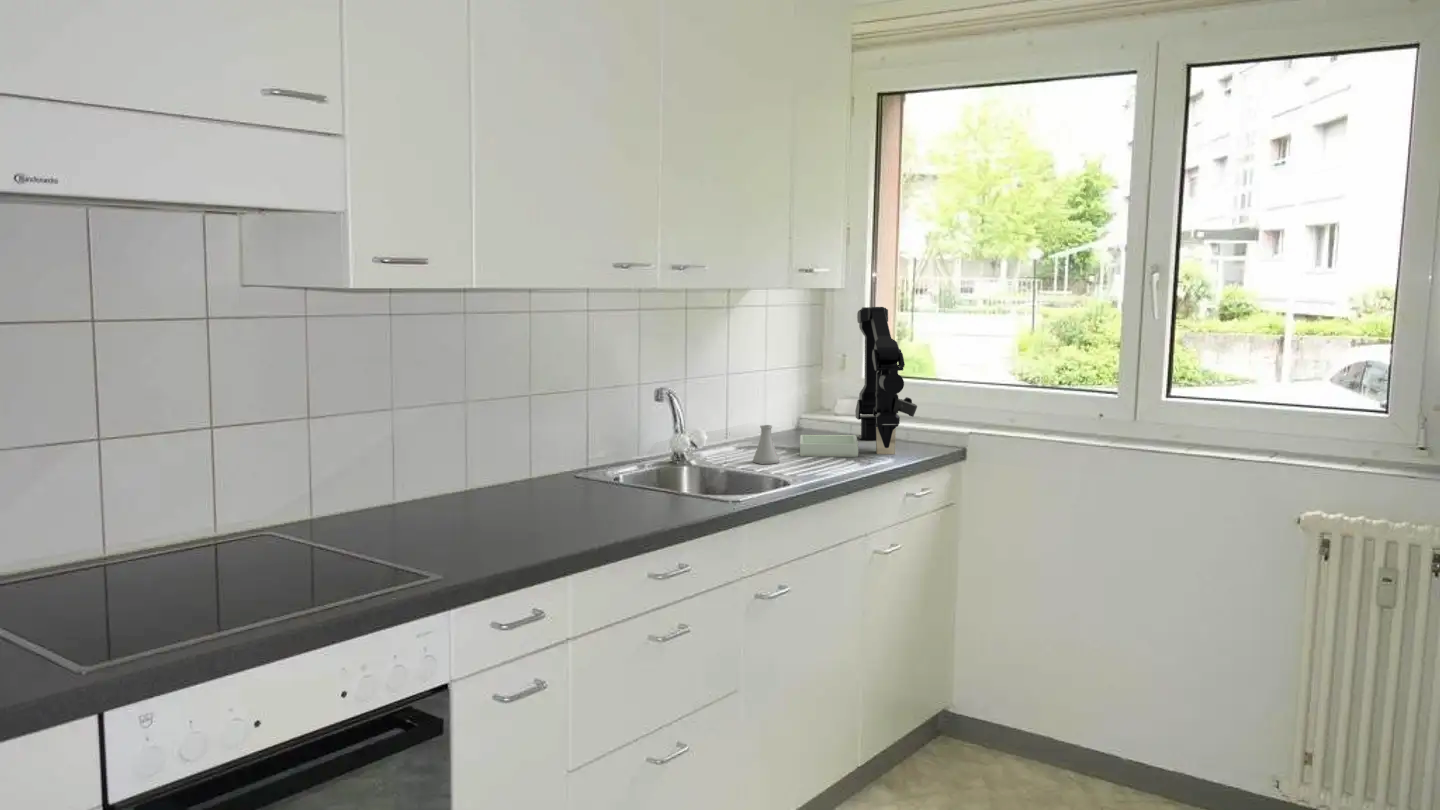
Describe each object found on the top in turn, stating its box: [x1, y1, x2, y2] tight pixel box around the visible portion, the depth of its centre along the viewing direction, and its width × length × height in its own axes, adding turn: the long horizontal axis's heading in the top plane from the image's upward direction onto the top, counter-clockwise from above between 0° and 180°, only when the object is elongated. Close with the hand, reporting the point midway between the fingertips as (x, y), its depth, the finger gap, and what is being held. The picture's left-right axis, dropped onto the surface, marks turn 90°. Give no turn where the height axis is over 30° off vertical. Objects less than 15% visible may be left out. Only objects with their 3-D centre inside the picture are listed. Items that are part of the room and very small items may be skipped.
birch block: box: [875, 427, 897, 455], centre depth 316 cm, size 5×5×7 cm
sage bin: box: [799, 434, 859, 458], centre depth 319 cm, size 16×16×4 cm
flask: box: [752, 424, 781, 465], centre depth 303 cm, size 7×7×10 cm
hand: (885, 445), depth 316 cm, fingers open, 9 cm apart
